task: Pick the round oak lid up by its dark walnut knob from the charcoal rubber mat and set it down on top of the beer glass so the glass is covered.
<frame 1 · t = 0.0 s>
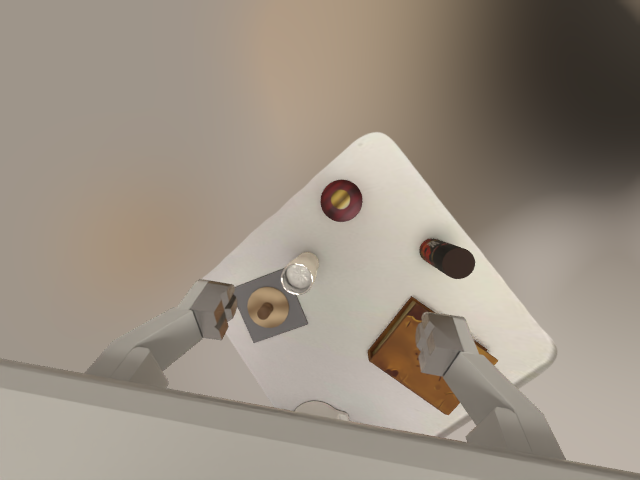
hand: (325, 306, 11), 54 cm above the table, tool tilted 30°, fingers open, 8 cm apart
deodorant: (431, 250, 64), on the table
beer glass: (307, 263, 67), on the table
diary: (424, 348, 67), on the table
liquor: (342, 202, 64), on the table
rubber mat: (269, 305, 69), on the table
oak lid: (268, 306, 69), point 1 cm above the table, touching rubber mat
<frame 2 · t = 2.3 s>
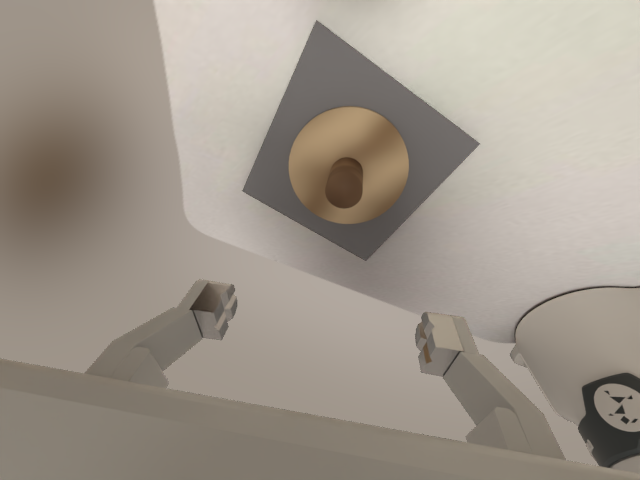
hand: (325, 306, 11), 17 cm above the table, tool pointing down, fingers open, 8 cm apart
rubber mat: (347, 168, 25), on the table
oak lid: (347, 170, 25), point 1 cm above the table, touching rubber mat
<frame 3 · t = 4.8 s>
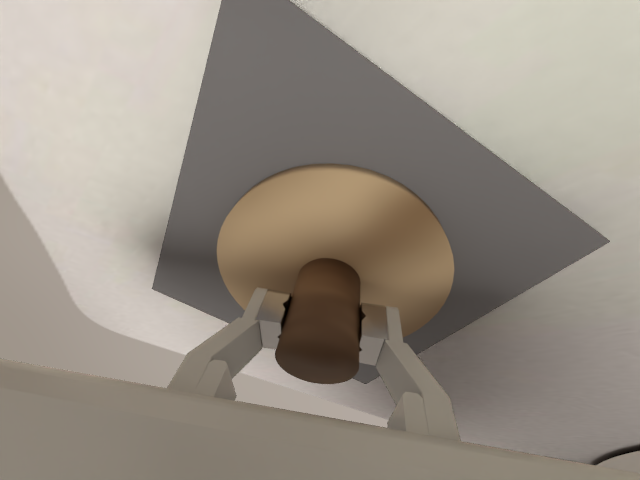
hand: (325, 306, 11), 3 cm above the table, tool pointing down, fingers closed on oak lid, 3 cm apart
rubber mat: (331, 262, 14), on the table
oak lid: (330, 270, 13), point 1 cm above the table, touching gripper
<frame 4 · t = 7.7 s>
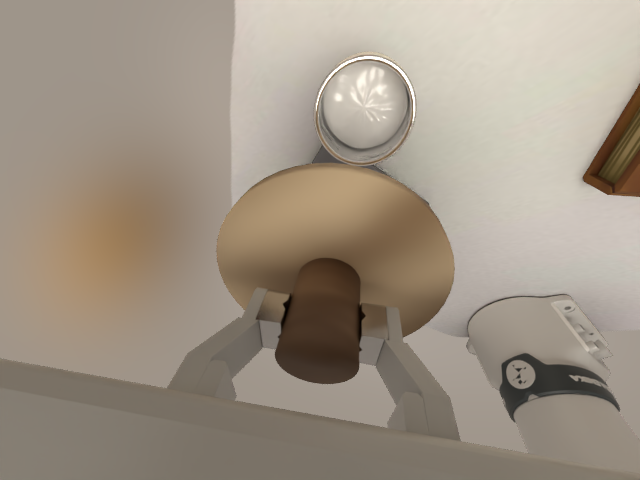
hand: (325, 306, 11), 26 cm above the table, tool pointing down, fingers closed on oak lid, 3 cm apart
beer glass: (365, 92, 29), on the table
rubber mat: (345, 214, 38), on the table
oak lid: (330, 270, 13), point 24 cm above the table, touching gripper
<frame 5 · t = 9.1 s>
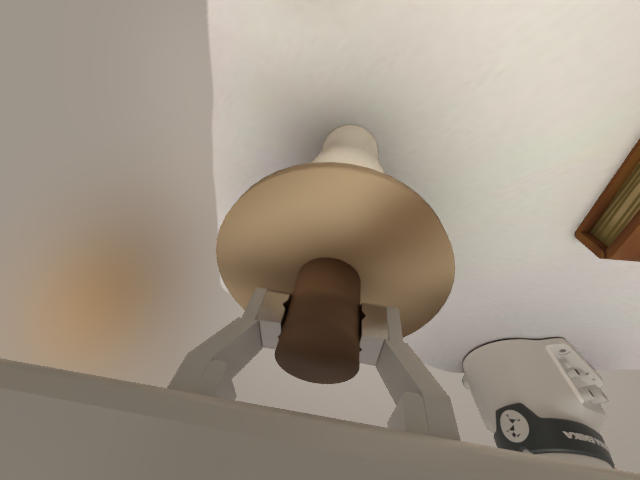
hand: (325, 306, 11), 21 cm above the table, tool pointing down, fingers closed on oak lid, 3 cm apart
beer glass: (349, 154, 28), on the table
oak lid: (330, 270, 13), point 19 cm above the table, touching gripper
when the fingers open (19 cm above the table, at t = 10.3 s): oak lid drops 1 cm, resting on beer glass.
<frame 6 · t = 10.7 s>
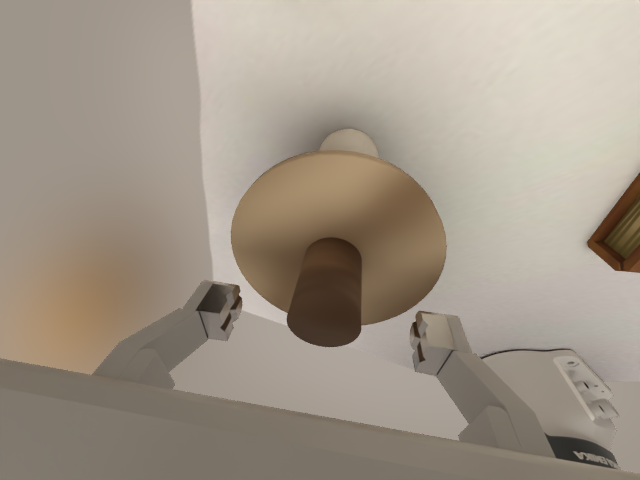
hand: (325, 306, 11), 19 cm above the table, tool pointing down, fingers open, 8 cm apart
beer glass: (347, 159, 26), on the table, touching oak lid
oak lid: (334, 251, 14), point 15 cm above the table, touching beer glass
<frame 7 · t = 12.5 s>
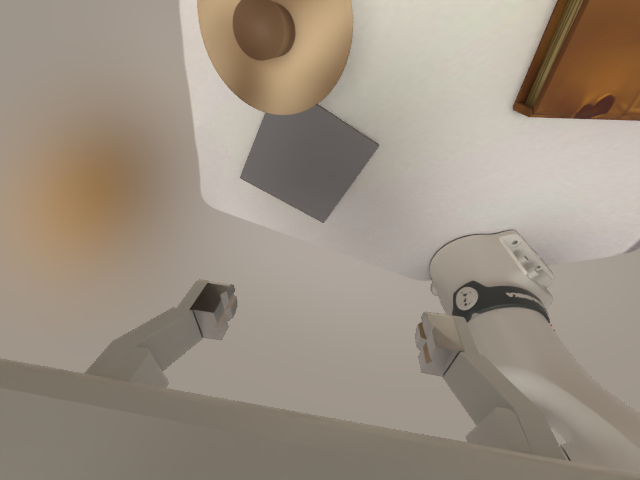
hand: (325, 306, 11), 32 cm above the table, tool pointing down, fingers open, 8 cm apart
rubber mat: (305, 161, 40), on the table
oak lid: (277, 31, 19), point 15 cm above the table, touching beer glass
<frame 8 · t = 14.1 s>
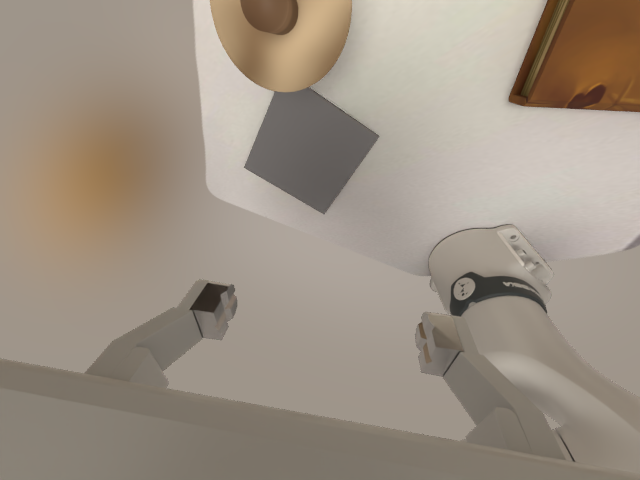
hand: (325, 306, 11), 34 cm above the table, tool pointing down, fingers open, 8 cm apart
rubber mat: (307, 152, 42), on the table
oak lid: (281, 11, 21), point 15 cm above the table, touching beer glass
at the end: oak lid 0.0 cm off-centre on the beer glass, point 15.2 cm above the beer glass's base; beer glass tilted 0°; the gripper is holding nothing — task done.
